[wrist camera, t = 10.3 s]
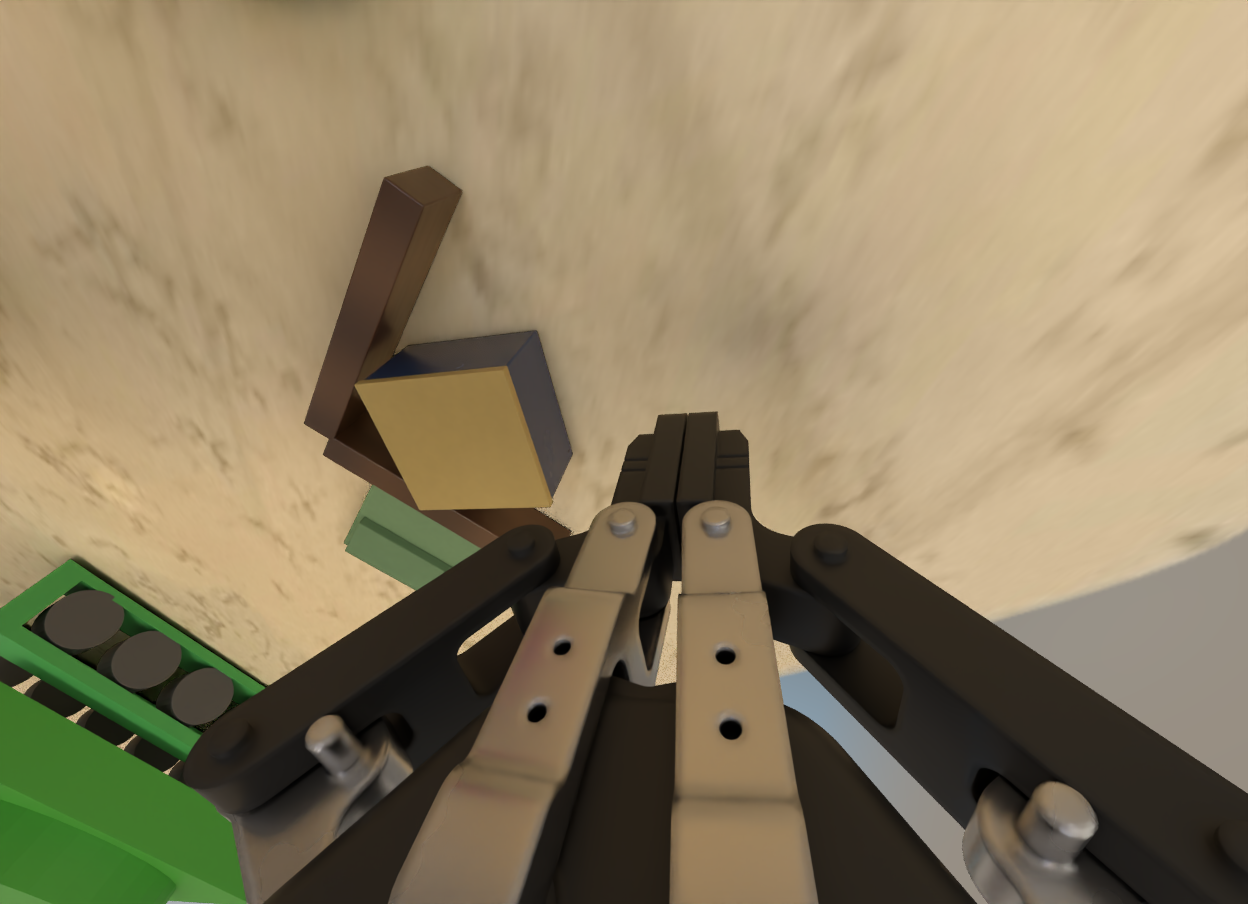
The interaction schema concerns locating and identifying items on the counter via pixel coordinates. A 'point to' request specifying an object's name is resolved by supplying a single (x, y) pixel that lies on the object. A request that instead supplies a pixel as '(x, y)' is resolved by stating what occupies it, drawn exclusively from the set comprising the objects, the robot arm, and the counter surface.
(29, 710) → the tank
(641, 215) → the counter surface
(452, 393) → the tea tin
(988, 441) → the counter surface
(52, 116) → the counter surface
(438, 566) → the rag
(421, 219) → the corner guide
